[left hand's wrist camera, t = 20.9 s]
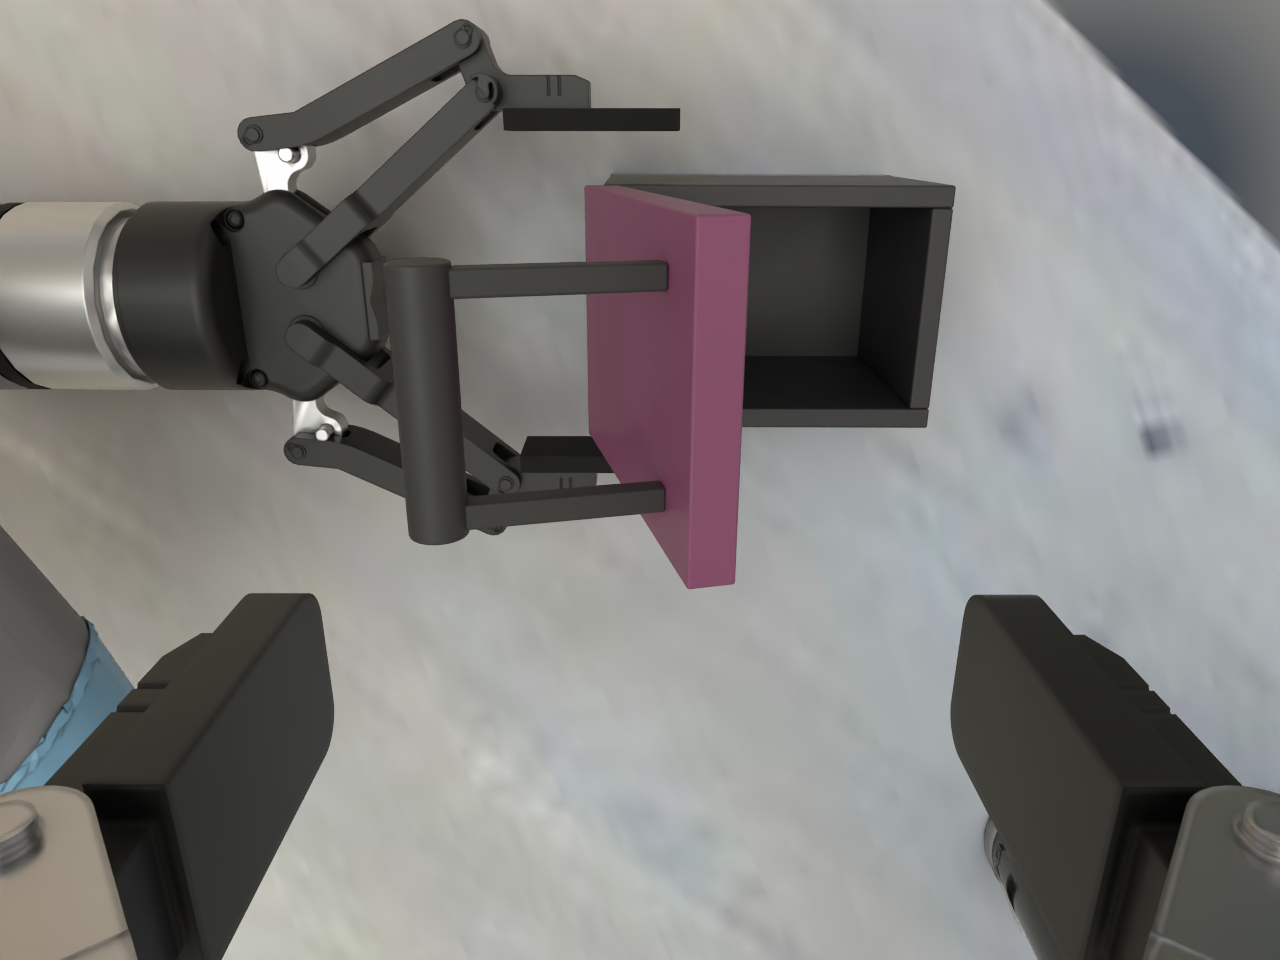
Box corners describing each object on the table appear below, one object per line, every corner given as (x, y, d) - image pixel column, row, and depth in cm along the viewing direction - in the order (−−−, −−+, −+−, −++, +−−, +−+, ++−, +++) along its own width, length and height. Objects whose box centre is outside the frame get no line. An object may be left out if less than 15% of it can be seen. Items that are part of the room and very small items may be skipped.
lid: (752, 213, 20) (374, 220, 18) (735, 584, 23) (413, 621, 21) (620, 185, 32) (386, 187, 30) (621, 431, 35) (409, 446, 33)
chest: (885, 175, 42) (956, 185, 33) (867, 368, 45) (927, 428, 36) (611, 174, 42) (602, 184, 33) (613, 367, 45) (605, 427, 36)
